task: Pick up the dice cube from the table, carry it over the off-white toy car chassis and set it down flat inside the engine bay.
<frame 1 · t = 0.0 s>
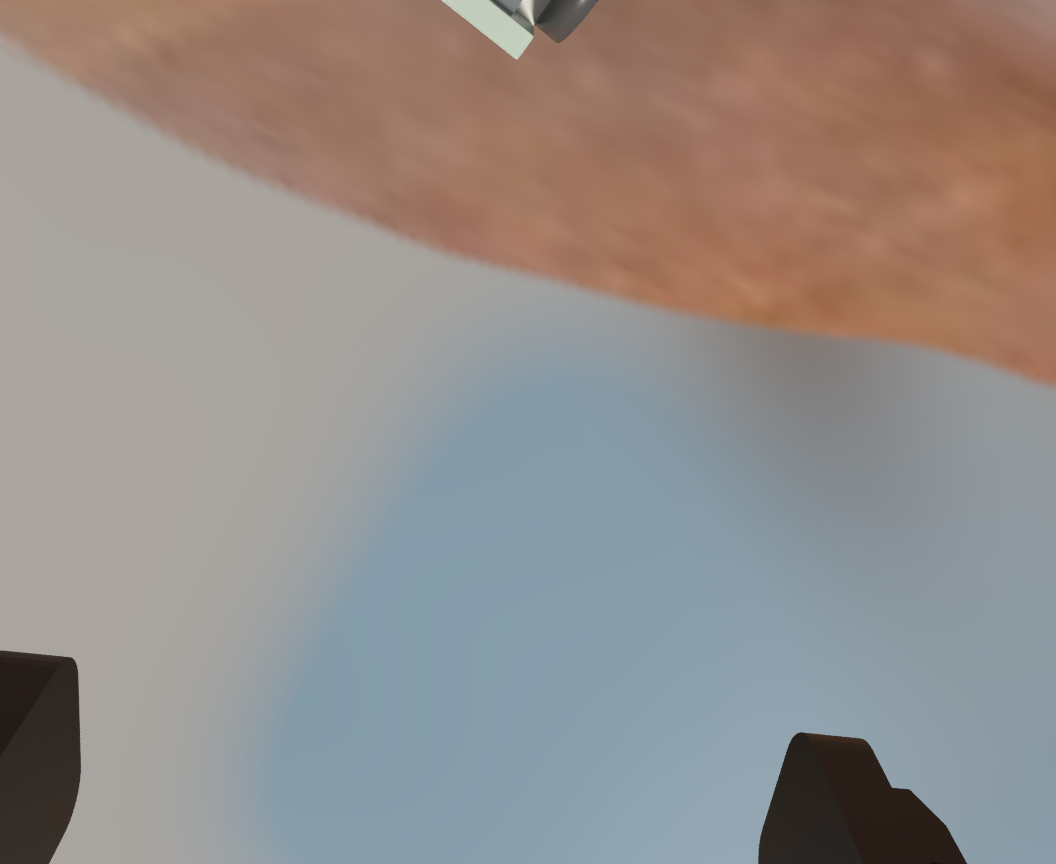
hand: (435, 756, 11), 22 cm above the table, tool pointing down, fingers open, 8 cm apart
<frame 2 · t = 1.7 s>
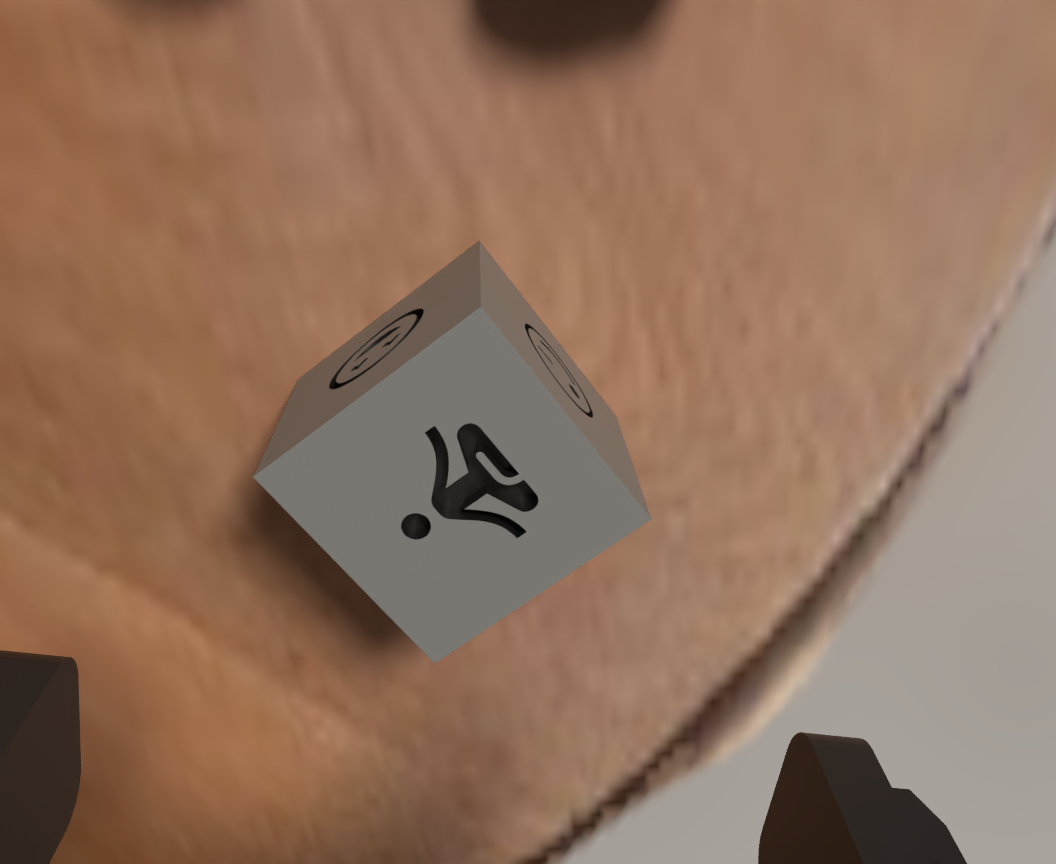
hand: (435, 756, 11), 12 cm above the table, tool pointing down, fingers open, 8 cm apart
dice cube: (459, 393, 23), on the table
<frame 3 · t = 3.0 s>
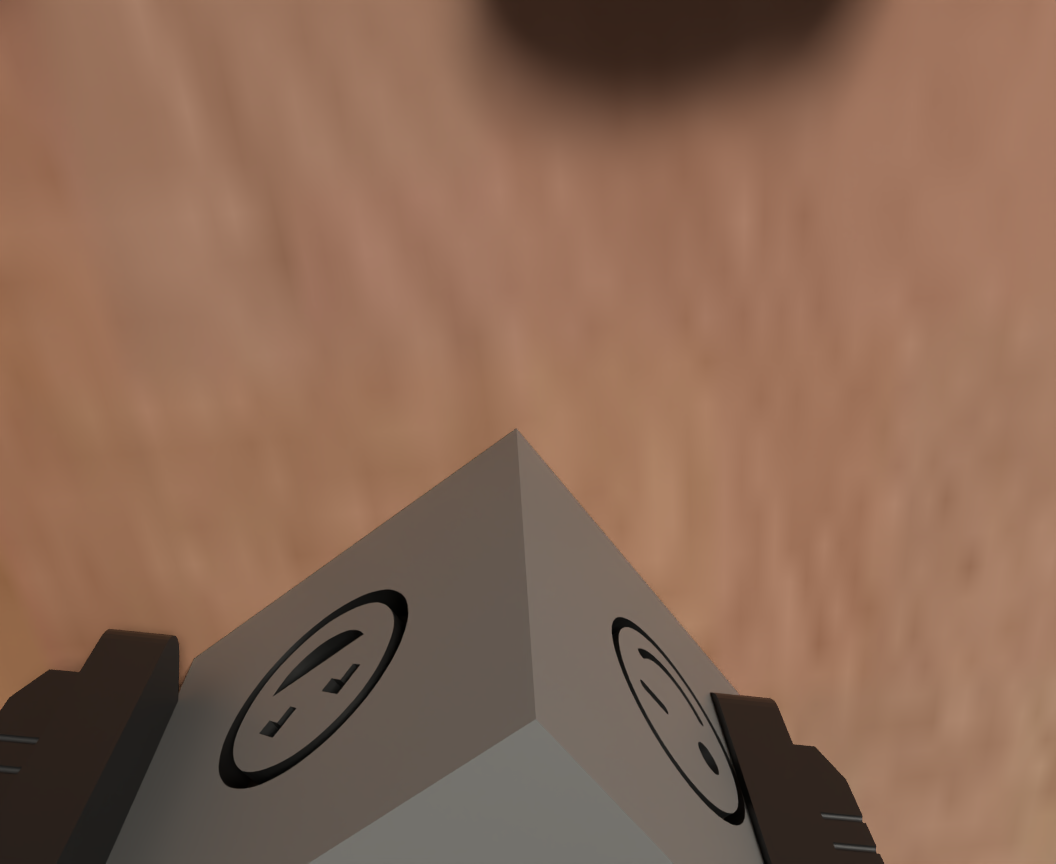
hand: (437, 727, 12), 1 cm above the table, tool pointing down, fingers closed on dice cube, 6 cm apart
dice cube: (479, 674, 13), on the table, touching gripper
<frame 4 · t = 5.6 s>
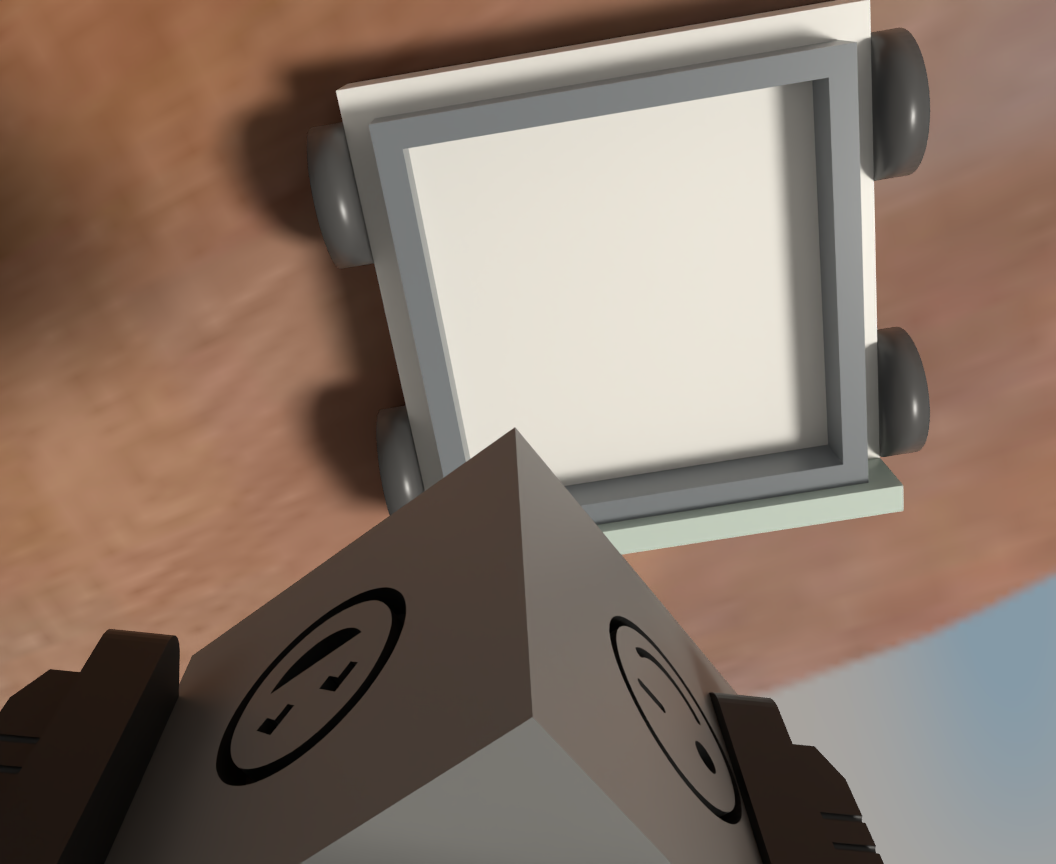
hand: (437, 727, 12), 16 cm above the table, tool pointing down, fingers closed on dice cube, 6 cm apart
toy car chassis: (621, 281, 26), on the table
dice cube: (477, 672, 13), point 14 cm above the table, touching gripper
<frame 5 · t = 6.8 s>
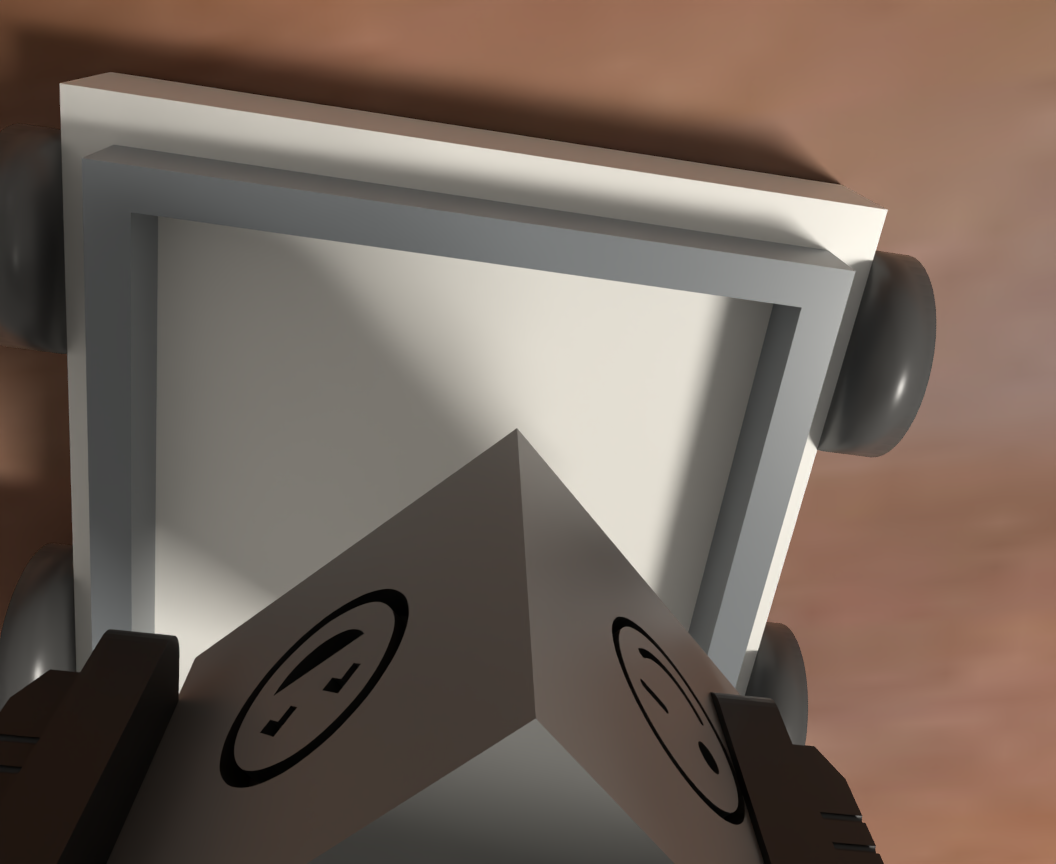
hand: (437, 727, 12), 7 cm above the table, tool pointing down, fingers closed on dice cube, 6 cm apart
toy car chassis: (445, 460, 18), on the table
dice cube: (480, 673, 13), point 6 cm above the table, touching gripper
when the fingers open (4 cm above the table, at t = 8.0 s): dice cube stays where it is, resting on toy car chassis.
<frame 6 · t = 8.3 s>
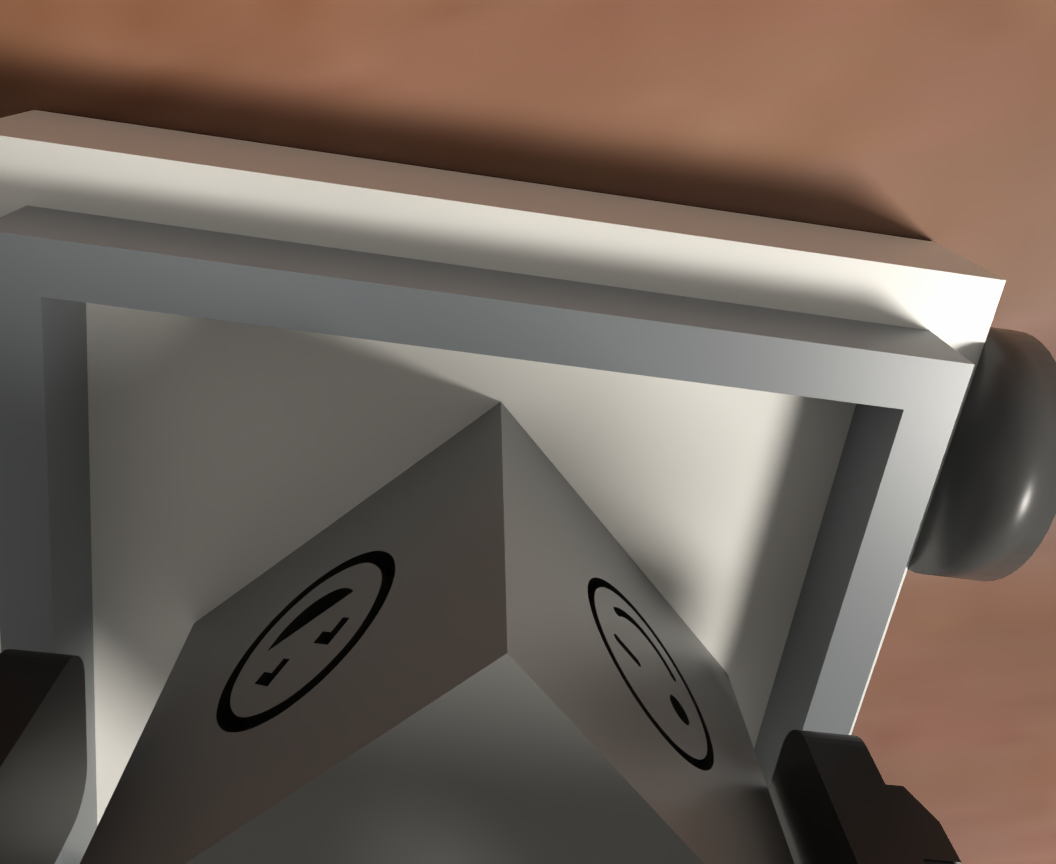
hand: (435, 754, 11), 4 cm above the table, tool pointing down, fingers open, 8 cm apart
toy car chassis: (449, 568, 15), on the table
dice cube: (467, 640, 13), point 2 cm above the table, touching toy car chassis
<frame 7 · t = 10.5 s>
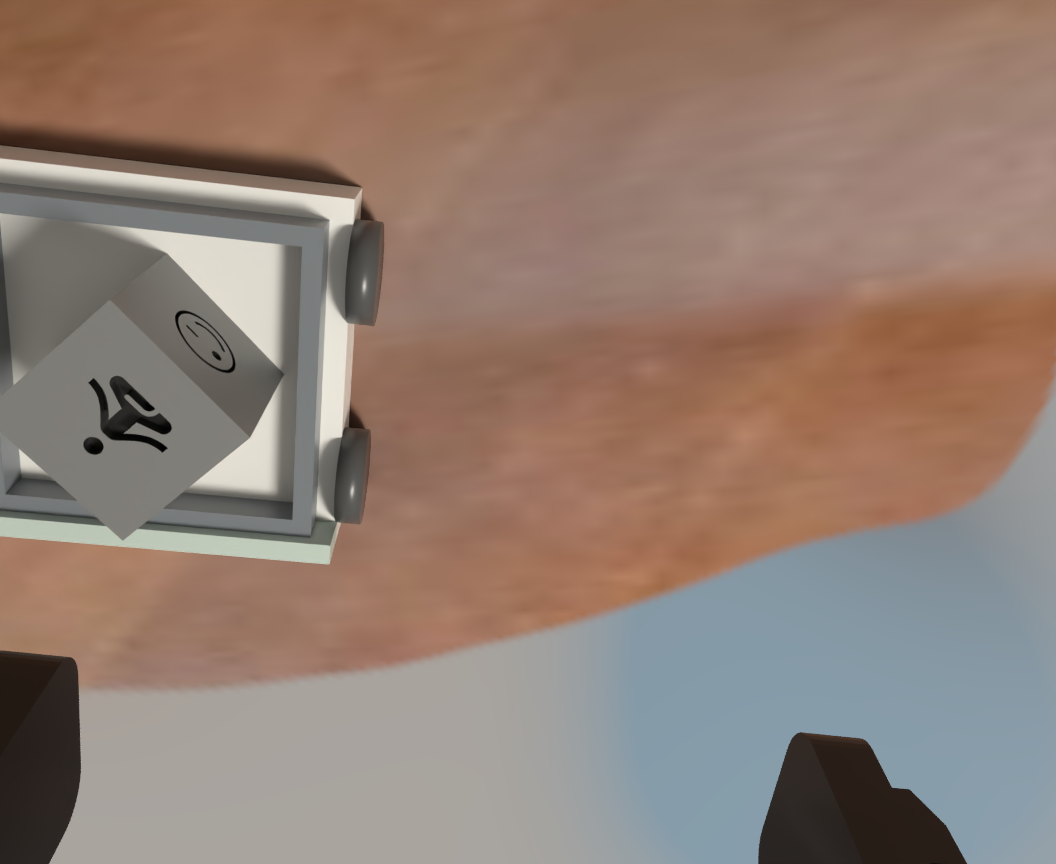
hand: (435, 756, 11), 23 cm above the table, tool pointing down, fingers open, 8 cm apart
toy car chassis: (176, 342, 33), on the table
dice cube: (172, 361, 32), point 2 cm above the table, touching toy car chassis
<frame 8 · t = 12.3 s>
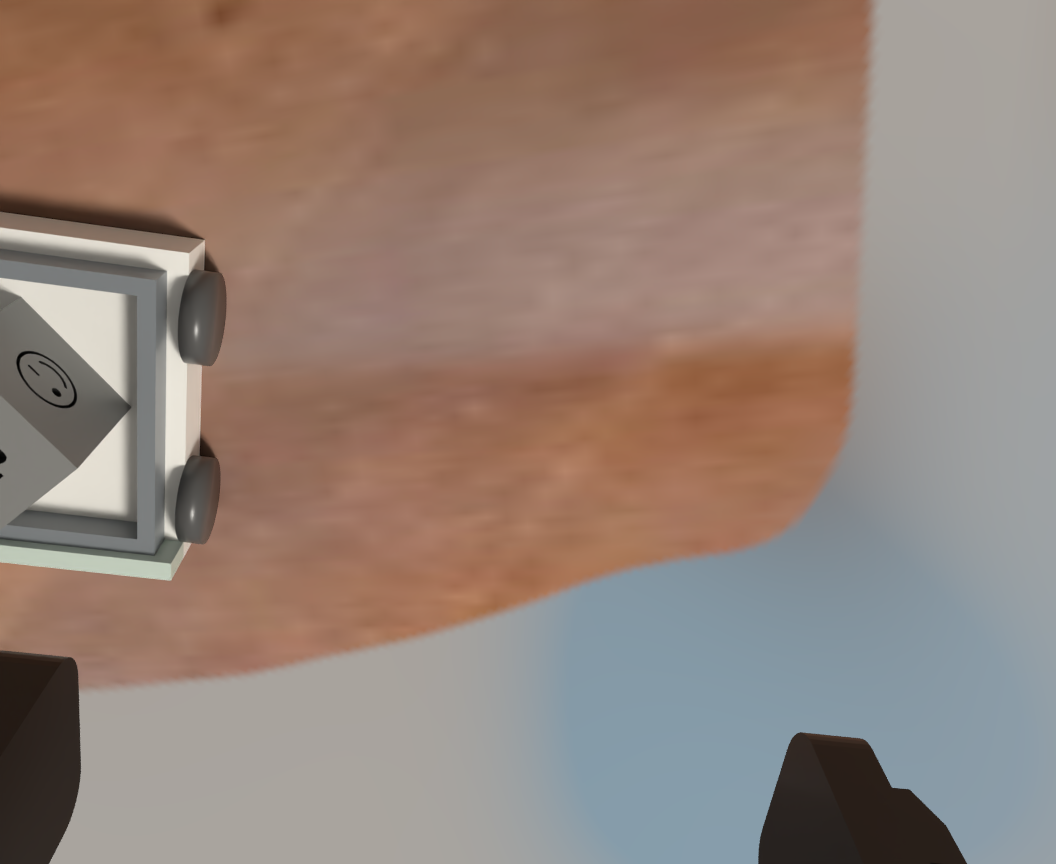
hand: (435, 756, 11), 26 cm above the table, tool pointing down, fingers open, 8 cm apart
toy car chassis: (38, 374, 37), on the table
dice cube: (29, 393, 35), point 2 cm above the table, touching toy car chassis
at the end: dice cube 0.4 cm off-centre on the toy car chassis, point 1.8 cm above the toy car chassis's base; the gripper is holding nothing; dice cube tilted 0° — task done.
